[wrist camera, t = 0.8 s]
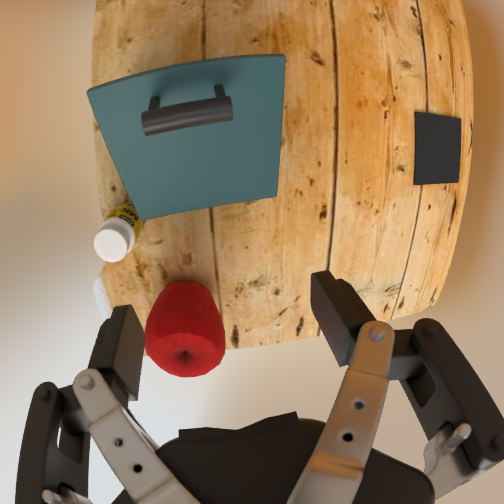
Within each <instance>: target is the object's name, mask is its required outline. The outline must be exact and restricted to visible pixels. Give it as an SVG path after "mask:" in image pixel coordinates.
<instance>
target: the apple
mask: <svg viewBox="0 0 504 504" xmlns="http://www.w3.org/2000/svg"><path fill="white" fill-rule="evenodd" d="M145 349H146V353H147V355H148V356H149V357H150V358H151V359H152V360H153V361H154V362H155V363H156V364H157V365H158V366H159V367H160V368H162V369H163V370H165V371H166V372H168V373H169V374H173V375H176V376H179V377H196V376H200V375H205V374H206V373H208V372H209V371H211V370H212V369H214V368H215V367H216V366H217V365H219V364H220V362H221V360H222V358H223V356H224V354H225V330H224V327H223V323H222V320H221V316H220V314H219V311H218V309H217V307H216V304H215V302H214V300H213V298H212V296H211V293H210V292H209V291H208V290H207V289H206V288H204V287H203V286H202V285H200V284H196V283H193V282H186V281H177V282H175V283H172V284H169V285H167V286H166V287H165V288H164V289H163V291H162V292H161V293H160V295H159V296H158V298H157V300H156V301H155V303H154V305H153V307H152V309H151V312H150V314H149V316H148V318H147V322H146V327H145Z"/></svg>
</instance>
